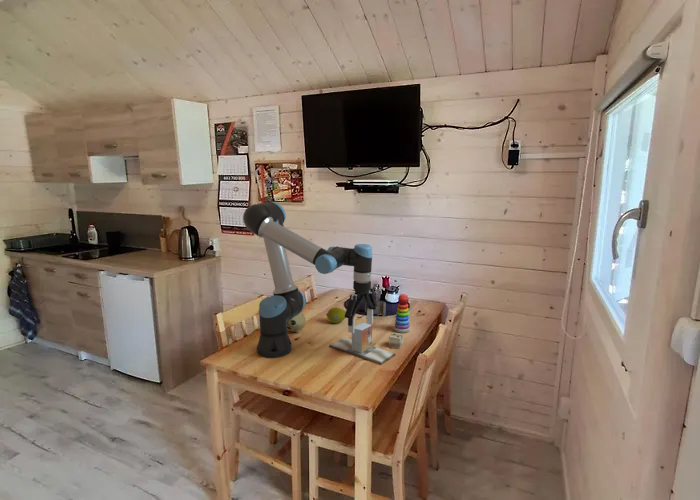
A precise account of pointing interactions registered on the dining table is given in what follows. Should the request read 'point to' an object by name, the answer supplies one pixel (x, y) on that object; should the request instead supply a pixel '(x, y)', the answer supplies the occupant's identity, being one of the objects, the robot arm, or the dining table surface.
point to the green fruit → (336, 315)
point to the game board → (370, 354)
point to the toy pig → (296, 323)
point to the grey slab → (378, 308)
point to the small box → (362, 337)
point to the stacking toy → (402, 315)
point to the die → (396, 340)
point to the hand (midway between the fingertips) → (360, 327)
